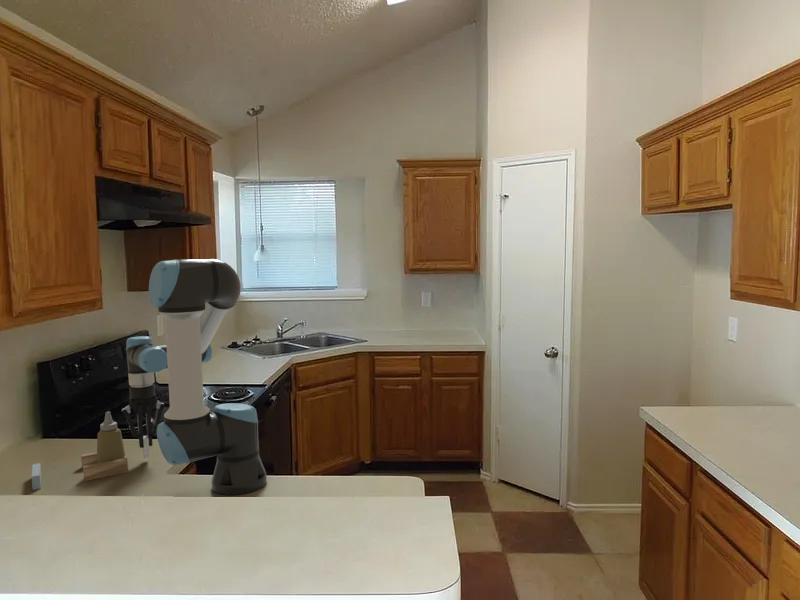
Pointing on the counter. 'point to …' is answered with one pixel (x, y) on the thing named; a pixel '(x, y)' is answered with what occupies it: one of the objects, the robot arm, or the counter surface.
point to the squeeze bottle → (109, 441)
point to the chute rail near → (105, 469)
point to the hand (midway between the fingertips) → (146, 456)
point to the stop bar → (36, 476)
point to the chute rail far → (89, 459)
